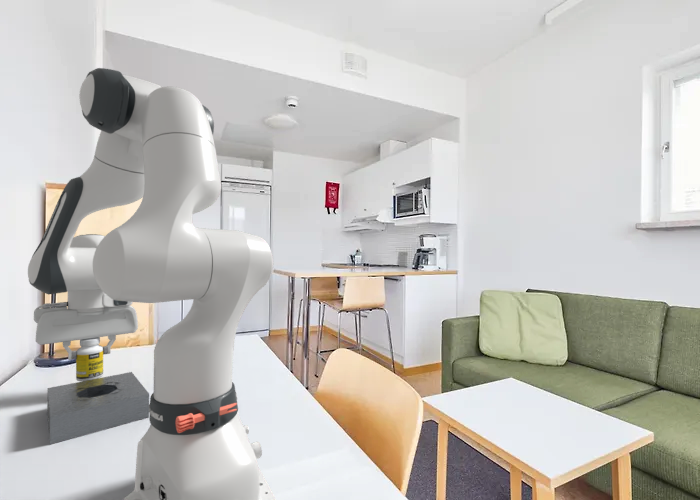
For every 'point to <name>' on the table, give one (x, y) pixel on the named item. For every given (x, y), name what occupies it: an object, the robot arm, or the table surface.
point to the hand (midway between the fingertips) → (89, 356)
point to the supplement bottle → (89, 360)
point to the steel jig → (95, 406)
